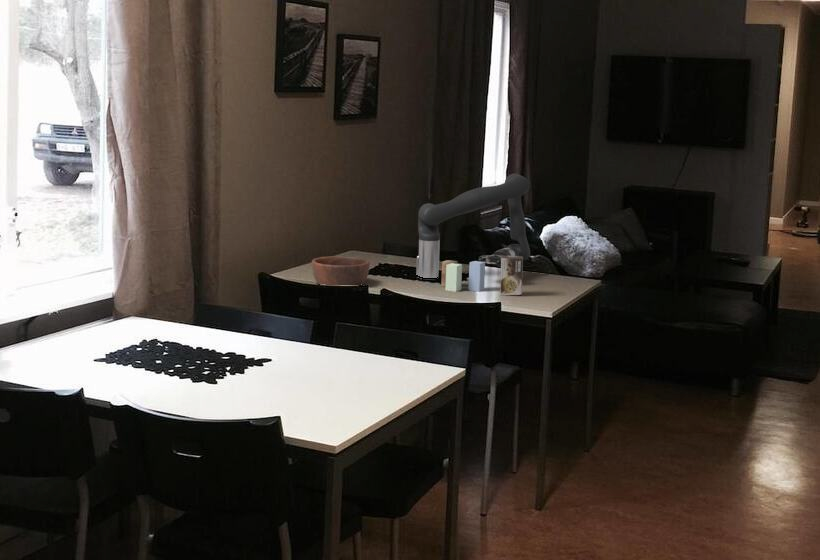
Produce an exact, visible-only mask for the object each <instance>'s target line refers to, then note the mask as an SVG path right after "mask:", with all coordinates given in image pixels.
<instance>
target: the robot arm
mask: <svg viewBox="0 0 820 560" xmlns="http://www.w3.org/2000/svg"><path fill="white" fill-rule="evenodd" d="M530 185H531V184H530V182H529V180H528V179H527V178H526V177H524V176H522V175H520V174H518V173H511V174H508V176H506V178H505V181H504V182H503V183H500V184H497V185H490V186H488V185H487V186H481V187H477V188H473V189H470V190H467V191H465V192H463V193H460V194H459V195H457V196H456V197H455V198H453V199H451V200H449V201H446V202H442V203H438V204H433V203H425V204H422V206H420V208H419V209H418V215H417V217H418V219H417V220H418V221H417V232H418V255H417V256H416V270H415V271H416V272H415V273H416V275H418V276H420V277H423V278H437V277H438V278H439V275H440V274H439V269H440V268H439V267H440V244H441V243H440V239H441V237H440V236H441V235H440V232H439V224H440V223H443V222H445V221H447V220H450V219H451V218H454V217H457V216H461V215H465V214H467V213H472V212H476V211H477V210H480V209H483V208H486V207H489V206H491V205H492V206H493V204H497V203H499V202H501V201H505V200H507V204H508V212H509V213H508V214H509V232H510V233H509V235H510V238H511V240H514V241H516V242H517V243H519V244H517V243H511V244H509V245H508V246H507V247H504V248H501V249H498V250H496V251H494V252H493V254H491V255H487V254H483V255H480V256H478V261H479V262H485V264H489V265H490V264H492V265H495V266H496V267H500V268H501V257H502V256H523V261H526V260H528V259H529V258H530V256H531V249H530V245H529V243H528V239H527V234H526V233H527V232H526V228H527V227H526V219H525V214H524V211H523V206H522V196H524V195H525V194H527V192H528V191H529V190H530ZM416 275H415V276H416ZM438 278H437V279H438Z"/></svg>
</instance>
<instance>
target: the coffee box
mask: <svg viewBox="0 0 820 560" xmlns="http://www.w3.org/2000/svg"><path fill="white" fill-rule="evenodd" d="M523 263H524V260H523V256H502V257H501V267H500V292H499V295H500V294H523V266H524V265H523Z"/></svg>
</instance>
